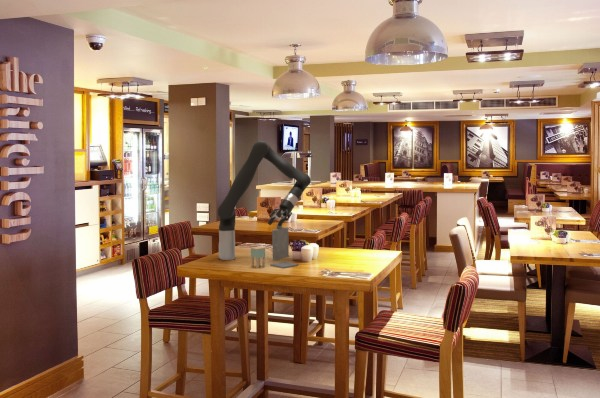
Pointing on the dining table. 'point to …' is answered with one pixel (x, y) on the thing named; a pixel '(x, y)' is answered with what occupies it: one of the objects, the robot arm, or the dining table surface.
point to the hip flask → (280, 242)
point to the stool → (257, 256)
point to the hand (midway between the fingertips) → (273, 224)
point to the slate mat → (284, 265)
